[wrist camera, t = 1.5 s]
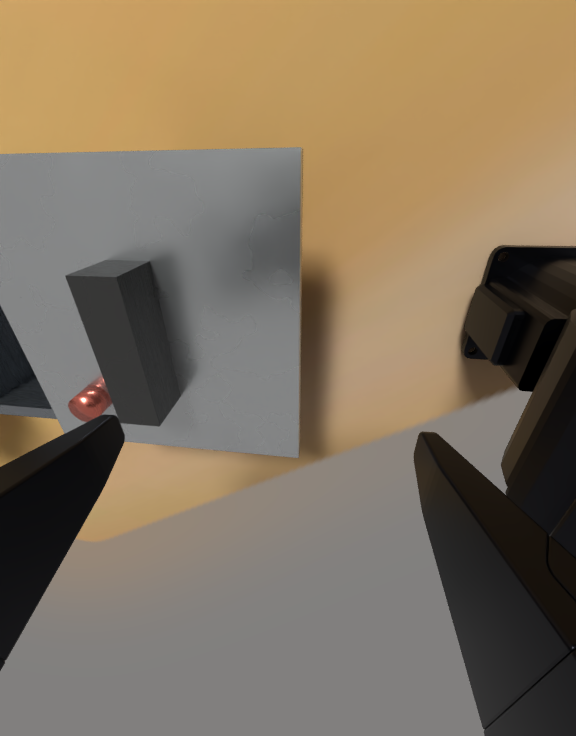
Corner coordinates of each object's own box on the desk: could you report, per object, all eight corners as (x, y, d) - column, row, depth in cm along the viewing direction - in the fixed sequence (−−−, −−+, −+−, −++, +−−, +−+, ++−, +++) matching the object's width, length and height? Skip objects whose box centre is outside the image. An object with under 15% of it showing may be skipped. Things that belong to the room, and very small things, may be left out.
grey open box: (174, 164, 17) (118, 162, 13) (210, 384, 24) (183, 430, 20) (-56, 168, 19) (-173, 167, 14) (43, 373, 26) (-15, 412, 22)
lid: (303, 148, 11) (292, 142, 9) (300, 447, 19) (293, 493, 16) (-54, 156, 13) (-156, 152, 10) (74, 427, 21) (35, 465, 18)
